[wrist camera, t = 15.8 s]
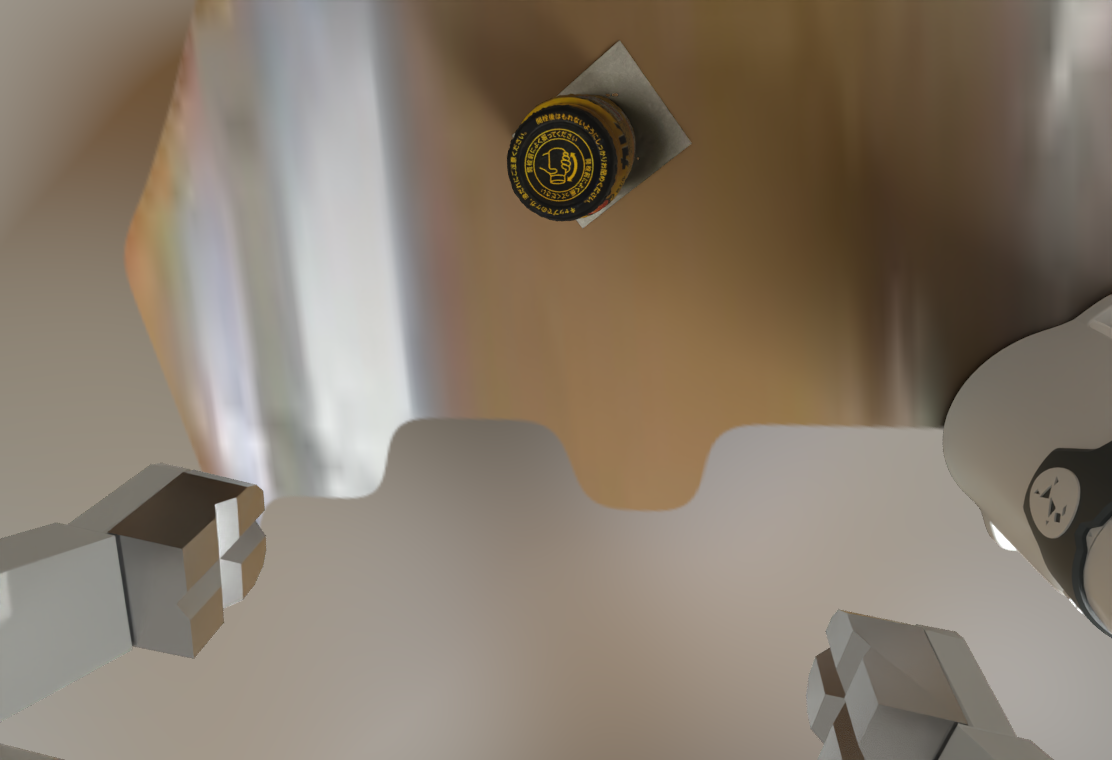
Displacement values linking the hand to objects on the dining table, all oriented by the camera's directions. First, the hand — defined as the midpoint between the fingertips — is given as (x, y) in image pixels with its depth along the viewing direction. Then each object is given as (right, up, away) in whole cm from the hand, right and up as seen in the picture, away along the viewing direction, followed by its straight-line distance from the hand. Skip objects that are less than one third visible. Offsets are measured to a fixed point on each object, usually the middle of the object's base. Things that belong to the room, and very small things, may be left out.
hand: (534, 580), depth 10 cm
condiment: (+3, +18, +33) cm, 38 cm away
